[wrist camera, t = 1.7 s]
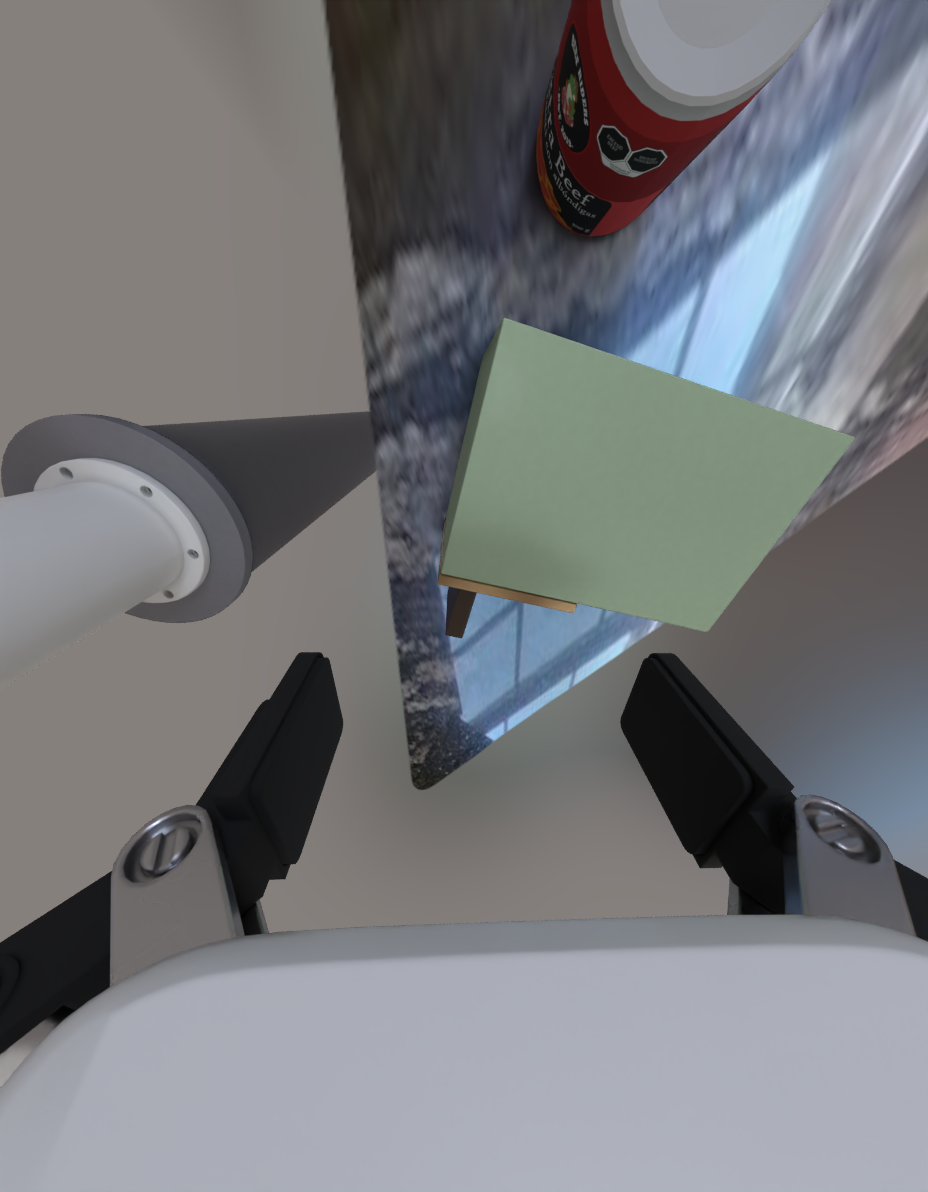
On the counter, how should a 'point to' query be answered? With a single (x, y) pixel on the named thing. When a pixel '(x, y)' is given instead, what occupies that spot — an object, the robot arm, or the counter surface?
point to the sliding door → (465, 592)
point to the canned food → (651, 96)
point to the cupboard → (622, 481)
